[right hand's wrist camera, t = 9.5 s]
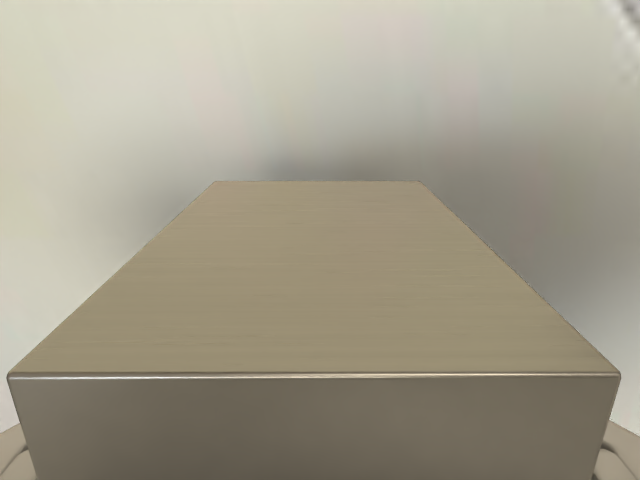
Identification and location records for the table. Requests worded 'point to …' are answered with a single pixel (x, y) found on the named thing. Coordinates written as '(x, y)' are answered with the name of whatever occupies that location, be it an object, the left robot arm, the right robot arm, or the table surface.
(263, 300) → the box
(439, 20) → the table surface
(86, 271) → the table surface
